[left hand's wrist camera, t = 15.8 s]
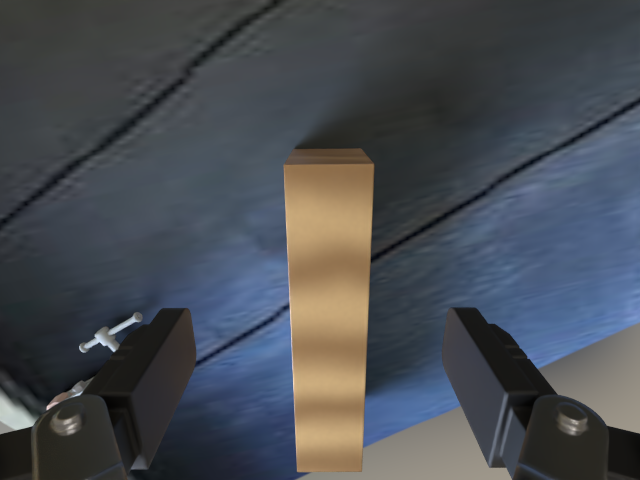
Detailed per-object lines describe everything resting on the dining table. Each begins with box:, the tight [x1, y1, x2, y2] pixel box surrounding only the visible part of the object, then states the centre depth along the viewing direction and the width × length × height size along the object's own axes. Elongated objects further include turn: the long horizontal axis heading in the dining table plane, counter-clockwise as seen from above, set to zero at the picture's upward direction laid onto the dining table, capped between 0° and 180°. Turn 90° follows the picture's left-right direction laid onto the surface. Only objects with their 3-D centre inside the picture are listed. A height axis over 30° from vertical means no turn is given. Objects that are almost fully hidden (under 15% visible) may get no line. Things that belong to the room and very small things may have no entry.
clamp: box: [47, 312, 143, 410], centre depth 37 cm, size 15×2×10 cm
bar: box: [284, 148, 374, 472], centre depth 31 cm, size 26×6×8 cm, turn 1°
